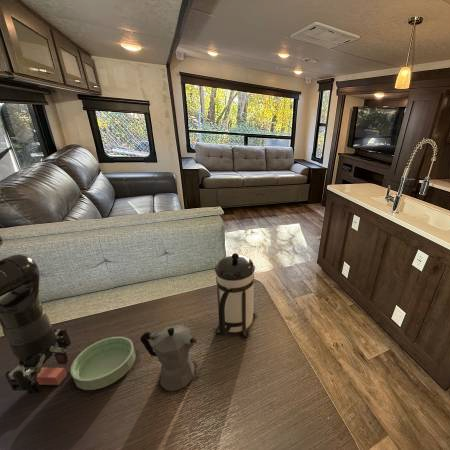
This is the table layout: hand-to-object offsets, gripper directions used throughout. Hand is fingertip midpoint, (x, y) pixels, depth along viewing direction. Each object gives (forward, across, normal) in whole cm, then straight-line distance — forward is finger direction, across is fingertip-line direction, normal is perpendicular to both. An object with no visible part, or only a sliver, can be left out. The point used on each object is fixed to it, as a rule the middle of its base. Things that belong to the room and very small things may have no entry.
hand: (50, 376), depth 67 cm
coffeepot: (+2, -2, +32) cm, 32 cm away
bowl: (+1, -4, +12) cm, 13 cm away
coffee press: (+2, -21, +46) cm, 51 cm away
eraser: (+1, 0, 0) cm, 1 cm away
